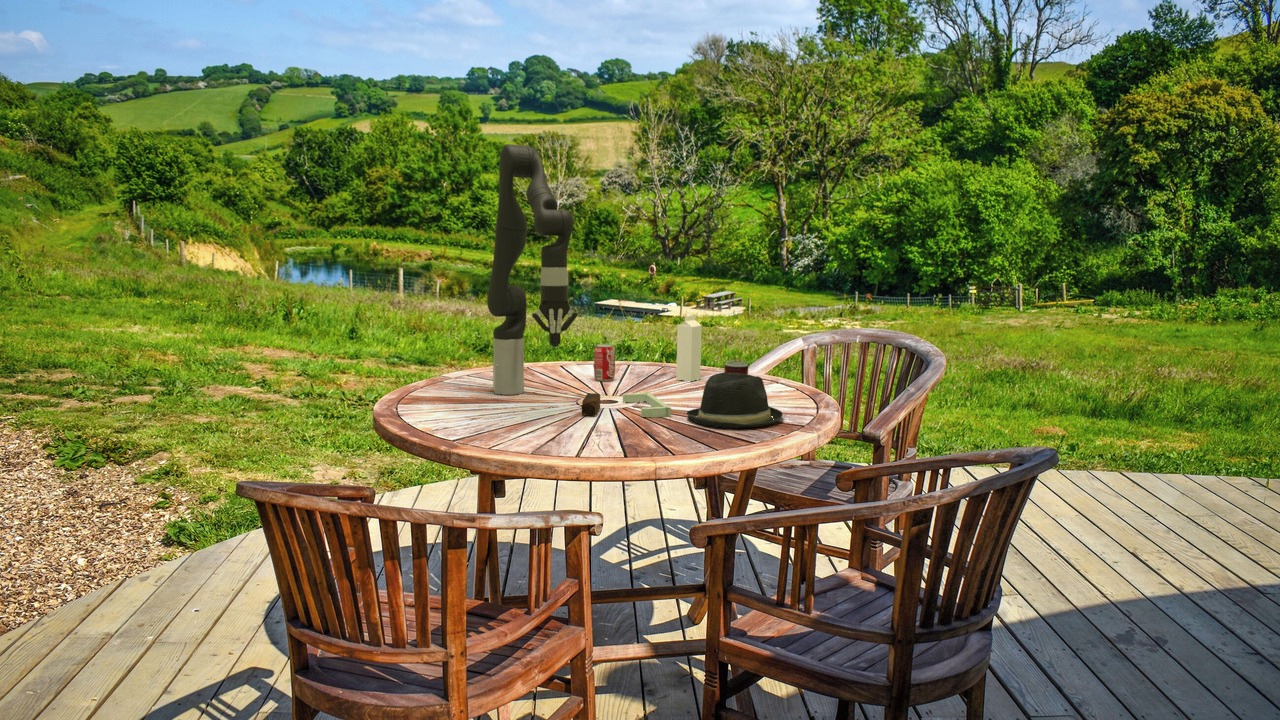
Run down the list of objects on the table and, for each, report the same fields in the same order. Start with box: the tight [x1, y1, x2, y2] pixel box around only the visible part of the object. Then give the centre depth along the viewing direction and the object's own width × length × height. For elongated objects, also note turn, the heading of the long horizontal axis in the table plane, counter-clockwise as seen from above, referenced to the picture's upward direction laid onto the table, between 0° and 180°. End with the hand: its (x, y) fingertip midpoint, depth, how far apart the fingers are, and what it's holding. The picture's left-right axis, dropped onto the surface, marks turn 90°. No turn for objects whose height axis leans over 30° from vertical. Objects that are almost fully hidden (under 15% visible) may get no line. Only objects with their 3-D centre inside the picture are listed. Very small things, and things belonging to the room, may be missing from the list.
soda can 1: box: [593, 343, 616, 383], centre depth 289 cm, size 7×7×12 cm
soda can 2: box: [723, 360, 749, 375], centre depth 257 cm, size 7×7×12 cm
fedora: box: [686, 372, 784, 429], centre depth 236 cm, size 25×27×12 cm
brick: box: [581, 392, 601, 417], centre depth 242 cm, size 11×4×5 cm, turn 175°
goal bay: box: [622, 392, 672, 418], centre depth 247 cm, size 8×21×2 cm, turn 16°
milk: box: [675, 315, 703, 382], centre depth 291 cm, size 6×6×22 cm
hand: (554, 346), depth 237 cm, fingers closed
